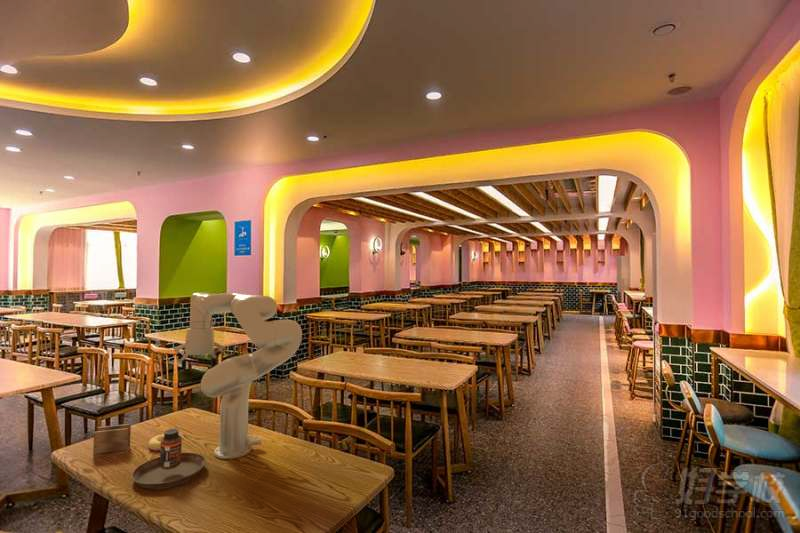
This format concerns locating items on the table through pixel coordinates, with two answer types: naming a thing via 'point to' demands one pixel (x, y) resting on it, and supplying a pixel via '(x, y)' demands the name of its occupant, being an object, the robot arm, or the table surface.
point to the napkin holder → (112, 440)
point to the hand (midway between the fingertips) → (198, 368)
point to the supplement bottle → (170, 449)
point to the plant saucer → (168, 472)
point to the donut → (155, 443)
